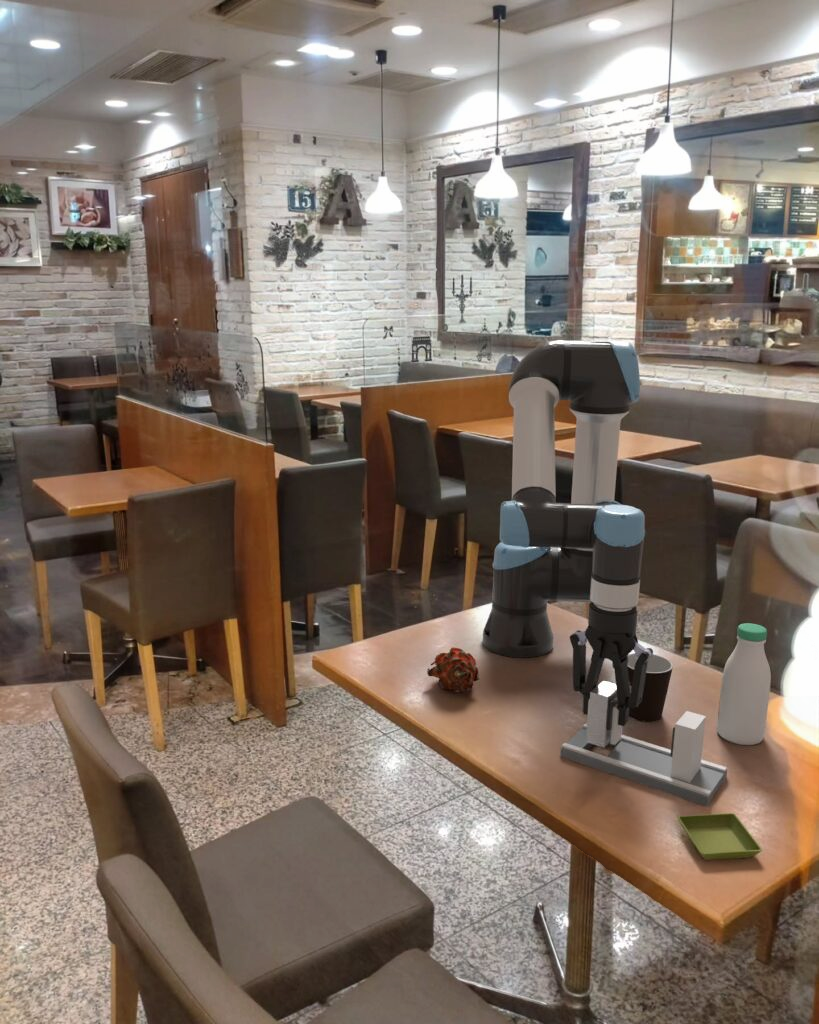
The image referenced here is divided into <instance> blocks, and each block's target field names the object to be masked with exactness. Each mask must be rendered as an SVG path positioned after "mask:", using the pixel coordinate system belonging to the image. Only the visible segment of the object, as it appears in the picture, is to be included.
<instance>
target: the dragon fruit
mask: <svg viewBox="0 0 819 1024" xmlns="http://www.w3.org/2000/svg"><path fill="white" fill-rule="evenodd" d="M434 664H435V666H433V665H434ZM430 666H433V667H432V668H430V667H429V668H427V669H426V672H427V673H426V674H427V676H429V677H435V678H436V679H437V678H438V683H437V686H439V687H440V688H441V689H443V690H445V689H447V690H448V689H449V690H450V691H451V692H453V693H454V692H455V693H463V692H464V691H466V692H468V691H470V690H472V689H473V686H474V682H477V681H478V680H480V675H479V668H478V667H477V662H476V659H475V658H474V657H473V655H472V654H471V653H469V652H468V653H466V651H464V650H463V649H461V648H458V647H454V646H453V647H451V648H450V649H449V652H440V653H439V654H437V655H436V657H434V661H433V662H432V663H431V664H430Z"/></svg>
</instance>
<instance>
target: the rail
mask: <svg viewBox="0 0 819 1024" xmlns="http://www.w3.org/2000/svg"><path fill="white" fill-rule="evenodd" d="M706 717H707V716H706V715H702V714H699V713H697V712H696V713H695V712H693V711H692V712H691V711H689V710H686V711H685V712H684V713H683V715H681V717H680V718H679V719H678V720H677V722H675V725H674V726H672V733H671V734H672V737H671V747H670V749H669V748H666V747H664V746H663V747H662V746H660V745H656V744H654V743H650V742H647V741H644V740H642V739H641V740H640V739H639V738H638V739H637V738H635V737H631V736H628V735H625V734H622V735H621V739H620V740H619V741H618V742H617V743H616V744H615V745H613V744H610V743H611V741H610V742H609V743H608V744H607V745H606V746H609V747H614V748H613V749H612V750H611V751H610V752H609V753H608V754H607V755H602V754H600V753H597V752H594V751H591V748H592V747H593V746H594V744H591V743H588V742H587V736H586V730H587V722H586V723H585V722H584V724H583V725H582V728H580V730H579V731H577V732H576V733H575V734H574V735H573V736H571V738H570V739H569V740H568V741H566V742H563V743H562V744H561V748H560V754H559V757H561V758H563V759H567V760H570V761H571V762H572V761H573V762H576V763H579V764H581V765H584V766H587V767H590V768H593V769H596V770H598V771H602V772H604V773H608V774H611V775H614V776H617V777H620V778H622V779H625V780H628V781H630V782H634V783H636V784H640V785H642V786H645V787H648V788H651V789H655V790H658V791H661V792H663V793H666V794H669V795H673V796H675V797H678V798H681V799H683V800H687V801H689V802H692V803H695V804H698V805H701V806H704V807H708V805H709V804H710V802H711V801H712V800H713V798H714V796H715V795H716V794H717V792H718V791H719V789H720V787H721V786H722V784H723V783H724V781H725V780H726V779H727V775H728V768H727V766H725V765H724V766H723V765H720V764H717V763H715V762H710V761H707V760H705V759H702V758H703V756H702V755H703V747H704V736H705V728H706V727H705V726H706V721H707V720H706V719H707V718H706Z"/></svg>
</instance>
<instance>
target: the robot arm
mask: <svg viewBox="0 0 819 1024" xmlns="http://www.w3.org/2000/svg"><path fill="white" fill-rule="evenodd" d="M636 351H637V350H636V349H635V346H633V344H632V343H630V342H626V341H618V340H612V339H611V340H610V339H608V340H605V339H604V340H603V339H602V340H601V339H599V340H583V339H582V340H578V339H577V340H564V339H554V340H549V341H545V342H543V343H541V344H539V345H537V346H536V347H534V348H533V349H531V350H530V351H529V352H528V353H526V355H524V357H522V359H521V360H520V362H519V363H518V364H517V365H516V367H515V369H514V371H513V372H512V375H511V378H510V381H509V385H508V386H509V387H508V401H509V404H510V406H511V407H512V408H513V422H512V423H513V424H512V426H513V427H512V429H513V431H512V432H513V435H512V469H511V470H512V471H511V472H512V473H511V475H512V477H511V500H509V501H508V500H507V501H506V500H505V501H503V502H502V503H501V504H500V515H499V517H500V519H499V520H500V521H499V522H500V523H499V541H500V542H499V543H498V544H497V545H496V547H495V548H494V554H493V555H494V557H493V562H492V568H493V578H492V579H493V581H492V595H491V597H492V598H491V599H492V602H491V608H490V609H491V610H490V612H489V615H488V618H487V620H486V623H485V625H484V629H483V631H482V644H483V646H484V647H485V648H486V649H487V650H489V651H490V652H493V653H495V654H498V655H501V656H505V657H506V656H507V657H512V658H533V657H539V656H542V655H545V654H548V653H549V652H551V650H552V649H554V633H553V629H552V625H551V622H550V618H549V615H548V611H547V610H548V609H547V608H548V601H553V602H554V601H555V602H573V603H575V602H576V603H589V605H588V606H589V607H588V617H587V618H588V620H587V622H588V623H587V624H588V625H587V627H586V628H585V630H584V631H581V630H576V631H574V633H572V634H571V635H570V636H569V642H570V644H571V648H572V690H573V691H574V692H576V693H577V692H578V693H580V694H581V695H582V698H583V700H582V702H583V703H582V713H583V715H584V716H585V715H586V716H587V718H586V724H587V730H586V736H587V734H588V720H589V705H590V692H591V691H592V690H593V689H594V688H596V687H597V686H598V685H599V684H598V682H599V680H600V676H601V671H602V668H603V665H604V662H605V660H606V659H607V660H609V661H611V662H612V668H613V669H614V678H615V684H616V690H617V699H618V703H617V704H616V705H615V706H614V707H613V717H612V730H611V743H610V744H613V745H615V744H616V743H617V742H618V741H619V740H620V739H621V735H623V734H622V733H623V727H625V726H626V725H627V723H628V722H629V718H630V717H629V707H631V708H636V707H637V706H638V705H639V704H640V703H641V701H642V697H643V690H644V684H645V677H646V671H647V664H648V661H649V659H650V657H651V656H652V654H654V650H653V649H652V648H651V647H647V648H646V647H644V646H643V645H642V644H640V643H639V640H638V637H637V625H638V611H639V609H638V606H637V605H638V604H639V599H640V598H639V597H640V586H641V571H642V570H641V569H642V562H643V560H642V558H643V549H644V541H645V540H644V539H645V536H646V529H645V523H646V522H645V519H646V517H645V514H644V512H643V510H641V509H640V508H636V507H635V506H631V505H627V504H621V503H620V502H619V501H616V500H615V495H616V494H615V493H616V481H617V469H618V467H617V466H618V459H619V458H618V456H619V447H620V434H621V433H620V432H621V431H620V430H621V422H622V419H624V418H625V416H626V415H628V414H629V413H630V407H631V404H635V403H637V402H638V401H639V399H640V392H641V389H640V388H641V382H640V379H641V376H640V367H639V359H638V354H637V352H636ZM560 401H569V409H568V410H569V411H570V412H571V413H572V414H573V415H574V416H575V419H576V424H575V425H576V426H575V438H574V455H573V468H572V469H573V470H572V471H573V472H572V483H571V484H572V485H571V499H570V500H571V501H570V503H565V502H556V500H557V499H556V498H557V497H556V493H557V492H556V442H555V441H556V440H555V438H556V435H555V433H556V432H555V430H556V429H555V408H556V407H557V405H558V403H559V402H560ZM587 642H588V643H589V645H590V647H591V649H592V653H591V657H590V665H589V669H588V672H587V645H586V643H587ZM633 651H634V653H635V659H636V660H637V661H636V664H635V667H634V674H633V681H632V688H631V694H630V686H629V676H628V667H627V663H628V655H629V654H631V653H632V652H633ZM586 675H587V676H586Z"/></svg>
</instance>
